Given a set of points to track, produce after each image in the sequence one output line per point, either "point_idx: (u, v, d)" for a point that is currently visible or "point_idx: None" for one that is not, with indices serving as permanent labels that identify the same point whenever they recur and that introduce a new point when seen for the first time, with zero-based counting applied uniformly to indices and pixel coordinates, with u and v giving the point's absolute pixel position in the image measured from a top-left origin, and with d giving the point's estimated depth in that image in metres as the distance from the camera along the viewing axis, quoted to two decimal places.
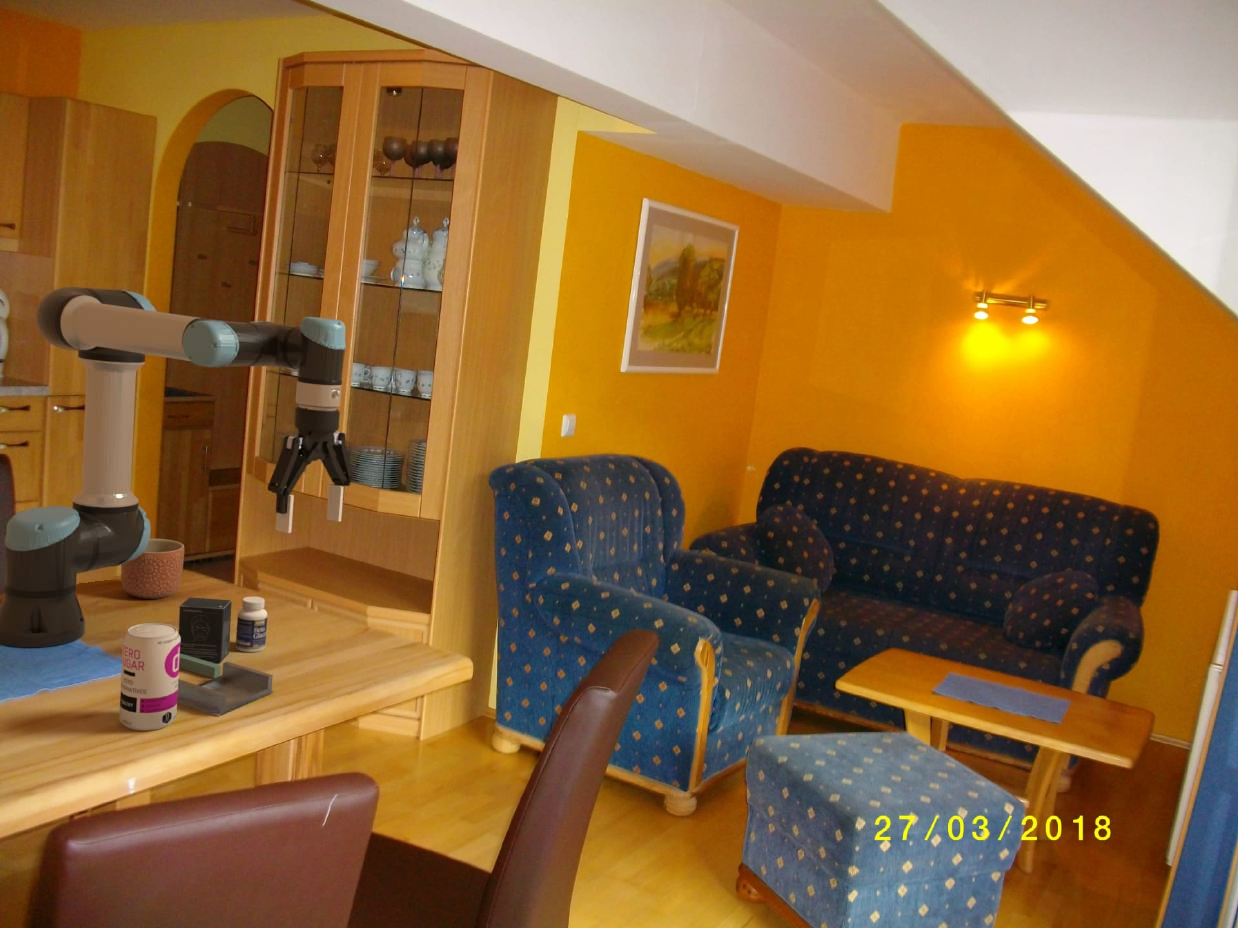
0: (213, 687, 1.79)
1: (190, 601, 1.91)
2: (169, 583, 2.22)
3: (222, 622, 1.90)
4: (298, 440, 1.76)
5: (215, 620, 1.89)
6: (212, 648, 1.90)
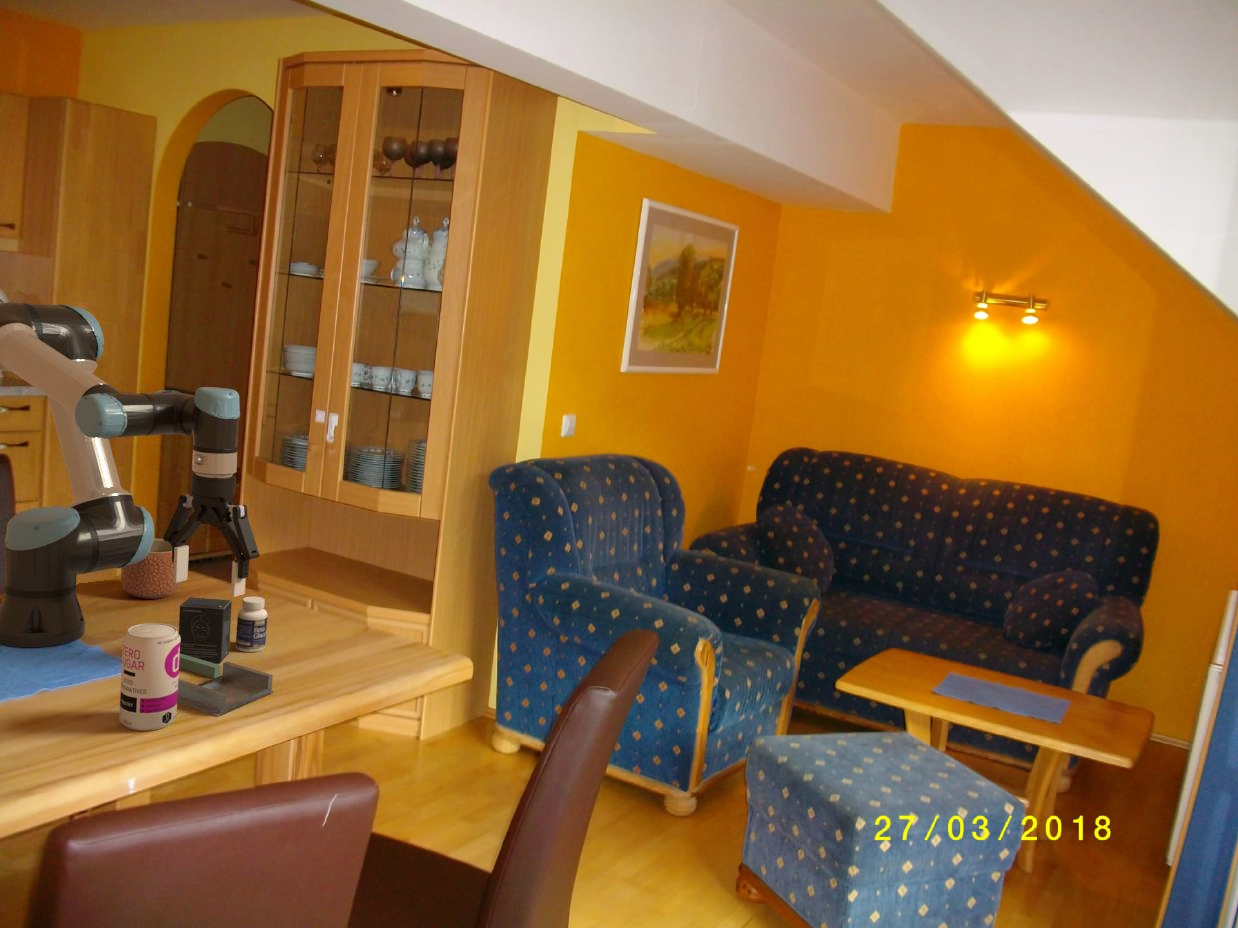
0: (213, 687, 1.79)
1: (190, 601, 1.91)
2: (169, 583, 2.22)
3: (222, 622, 1.90)
4: (181, 497, 1.90)
5: (215, 620, 1.89)
6: (212, 648, 1.90)
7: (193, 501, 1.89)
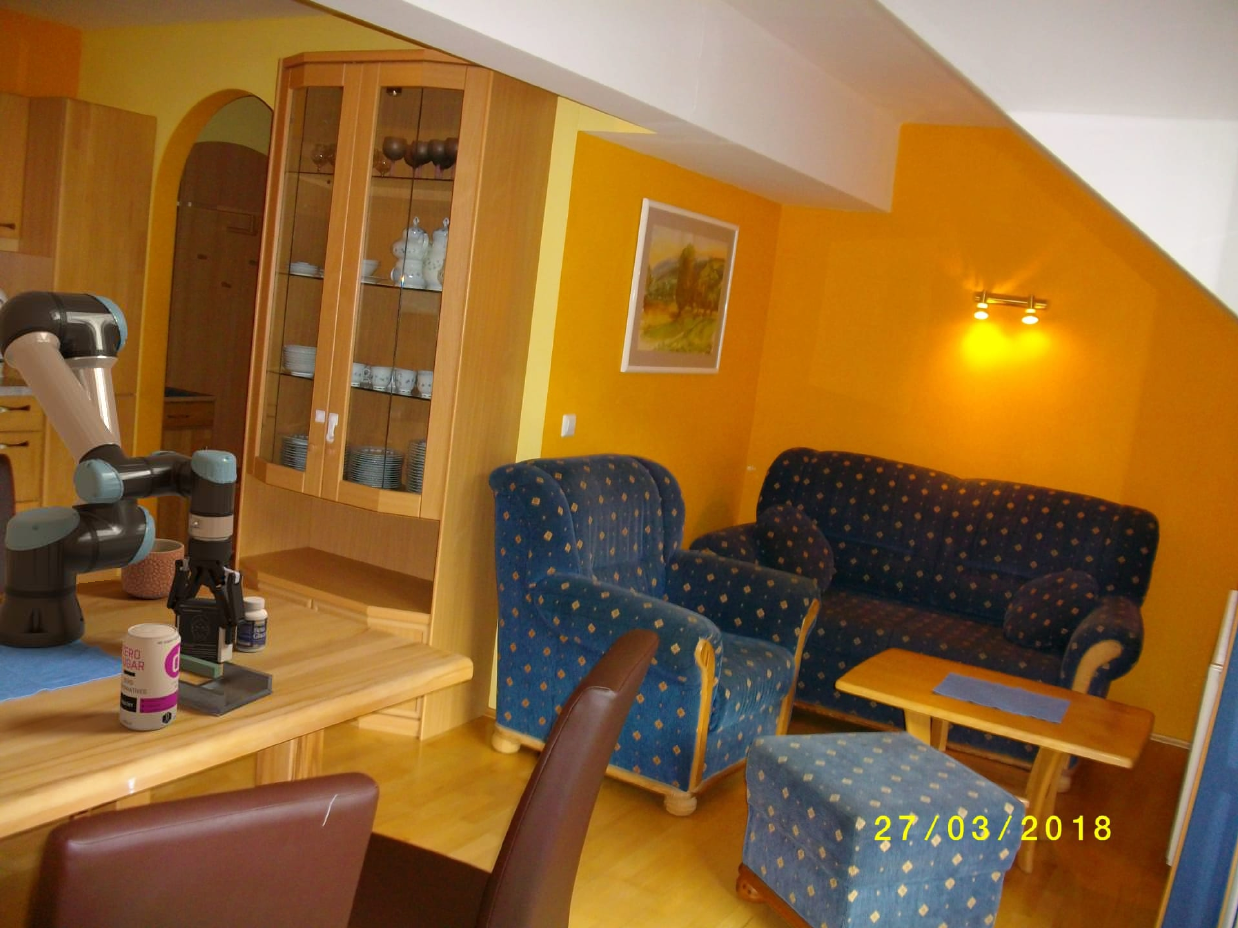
0: (213, 687, 1.79)
1: (190, 601, 1.91)
2: (169, 583, 2.22)
3: (222, 622, 1.90)
4: (177, 562, 1.92)
5: (215, 620, 1.89)
6: (212, 647, 1.90)
7: (189, 563, 1.91)
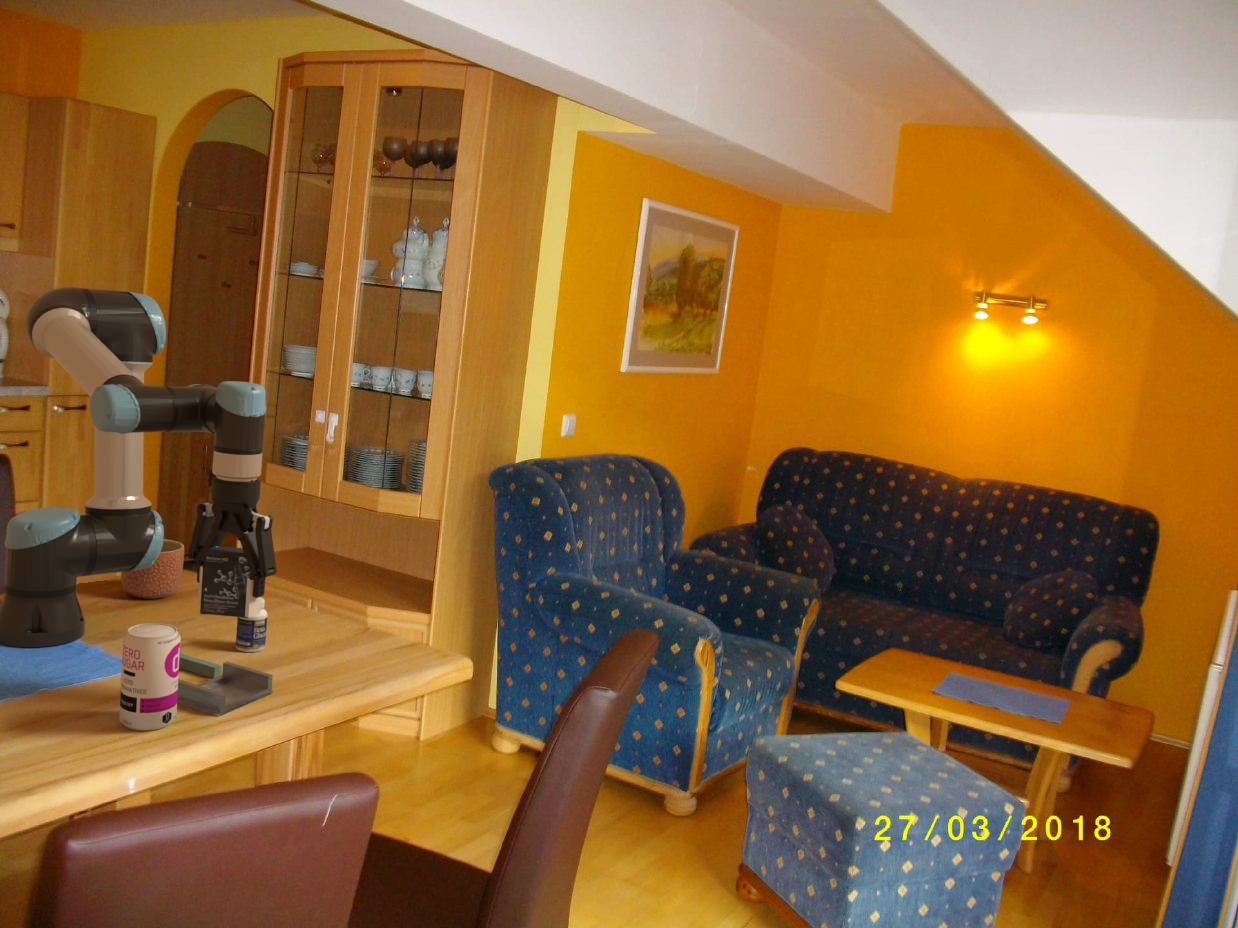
0: (213, 687, 1.79)
1: None
2: (169, 583, 2.22)
3: None
4: None
5: None
6: None
7: None
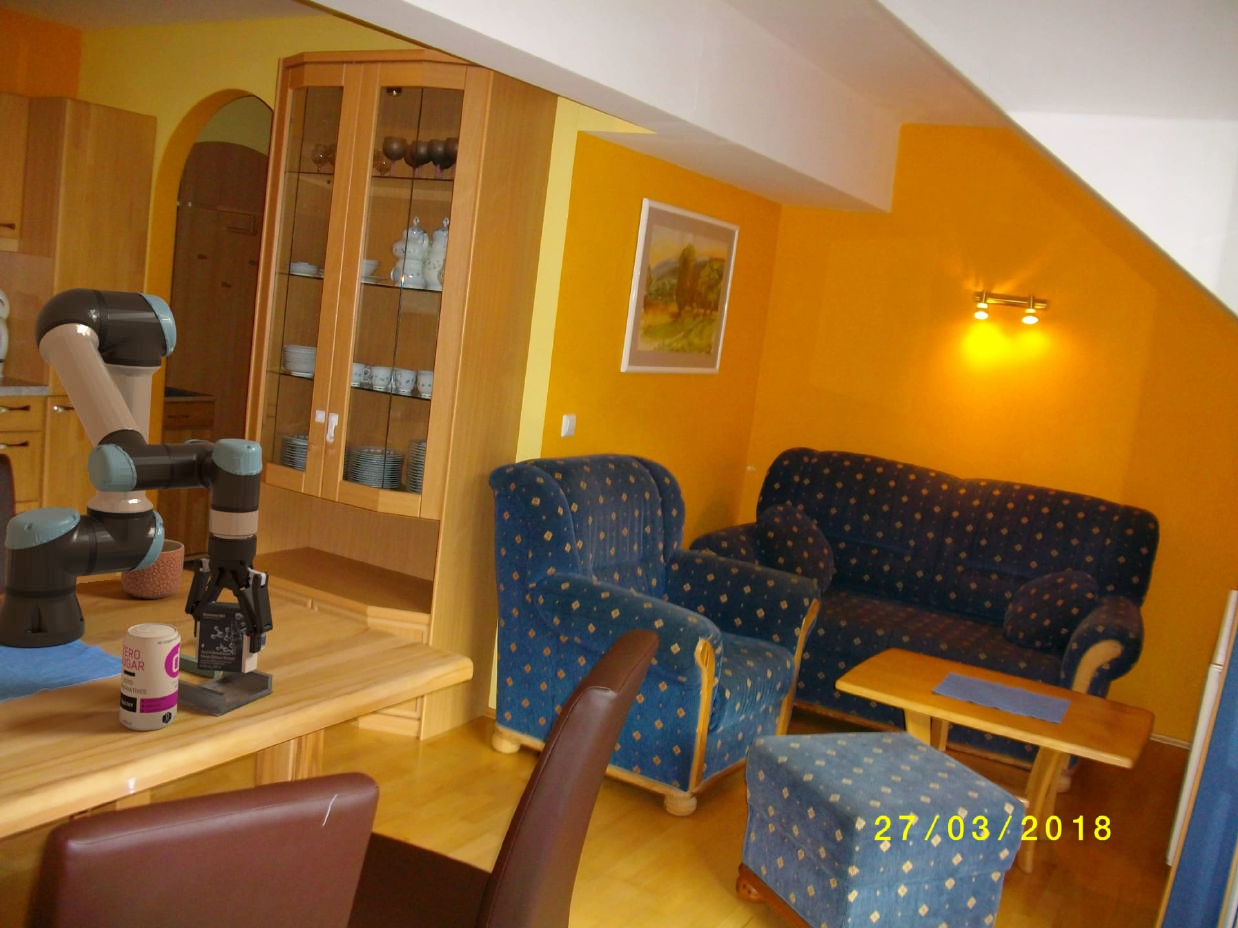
0: (213, 687, 1.79)
1: None
2: (169, 583, 2.22)
3: None
4: None
5: None
6: None
7: None
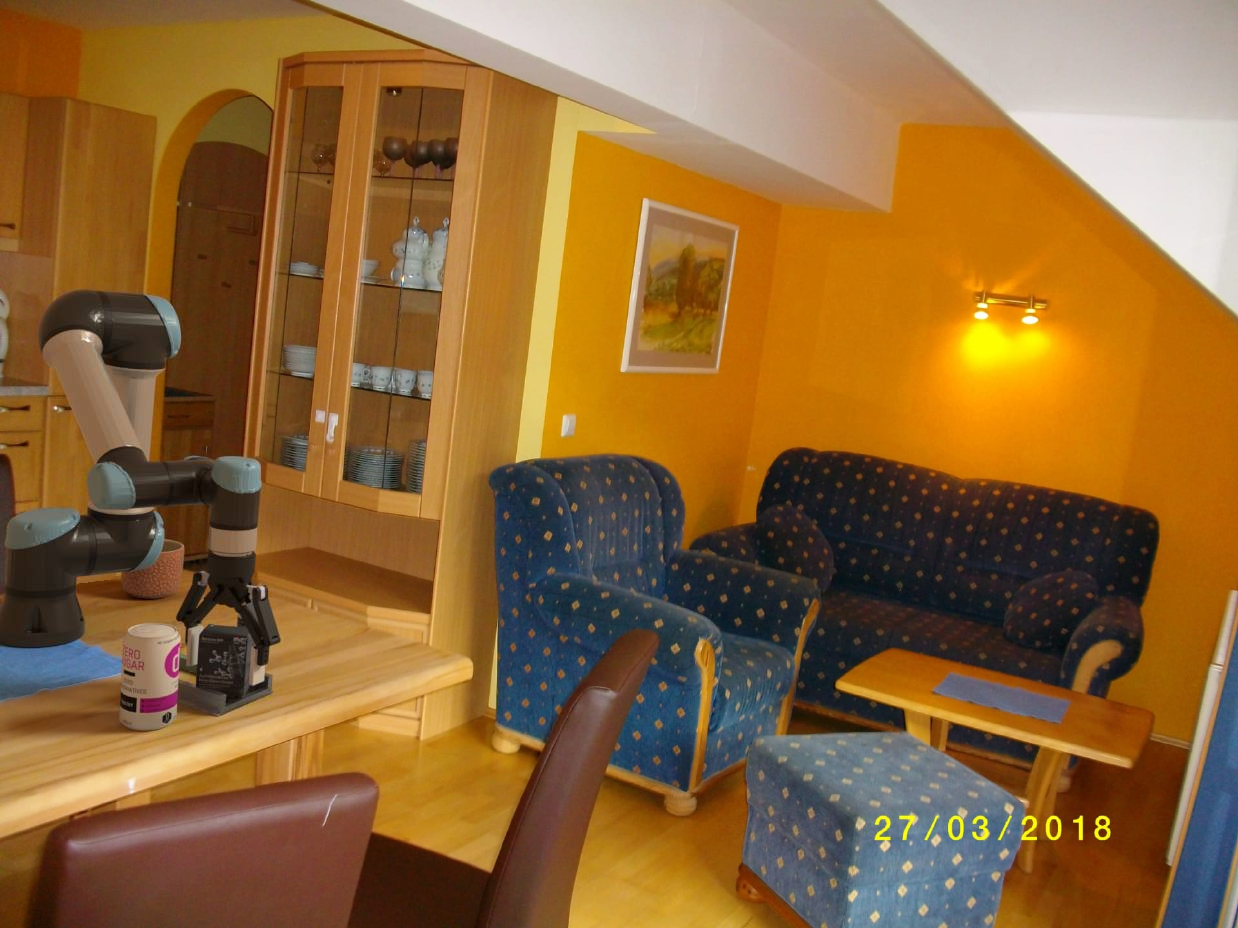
0: None
1: (244, 632, 1.75)
2: (169, 583, 2.22)
3: None
4: None
5: None
6: None
7: None
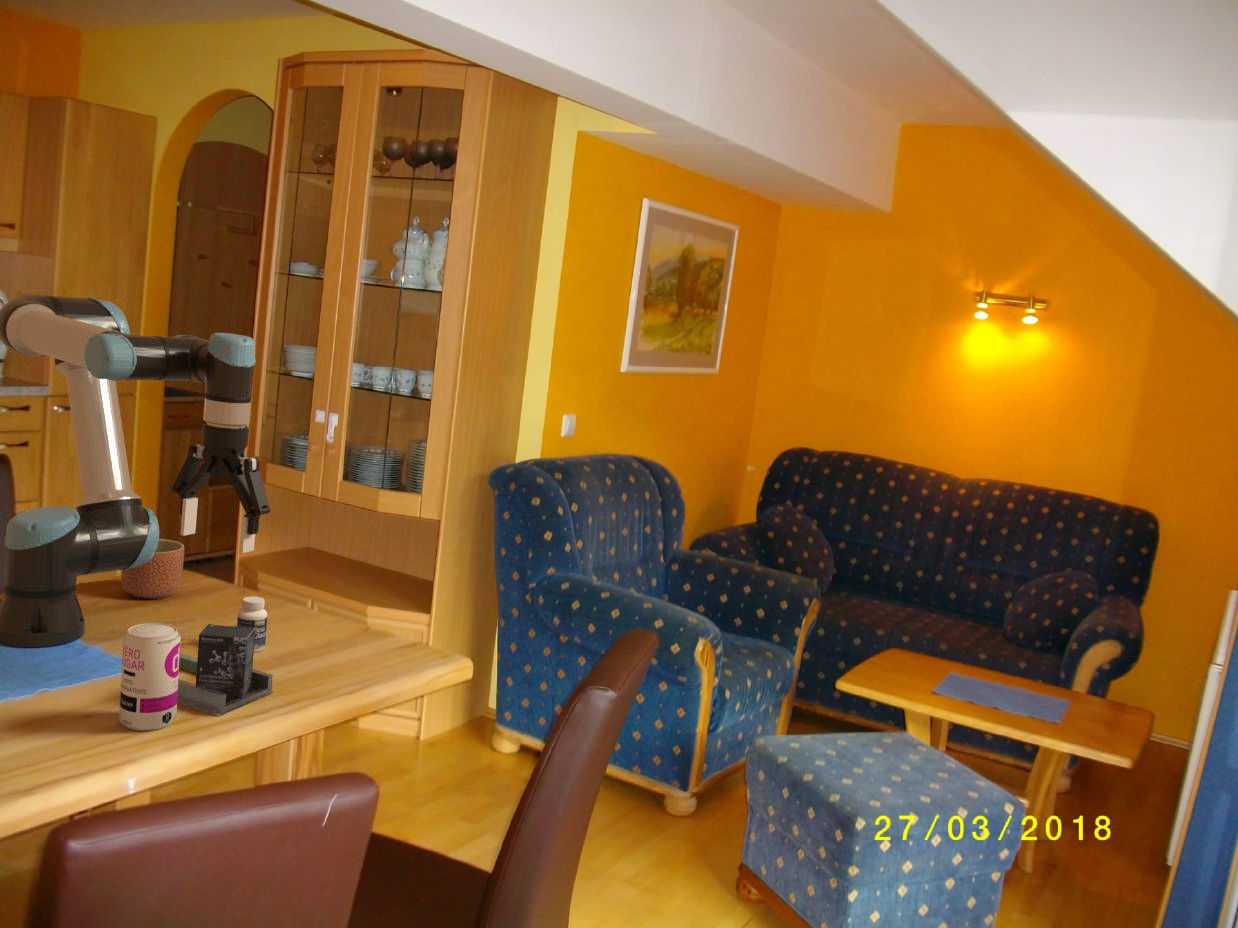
0: None
1: (244, 632, 1.75)
2: (169, 583, 2.22)
3: None
4: None
5: None
6: None
7: (243, 458, 1.80)
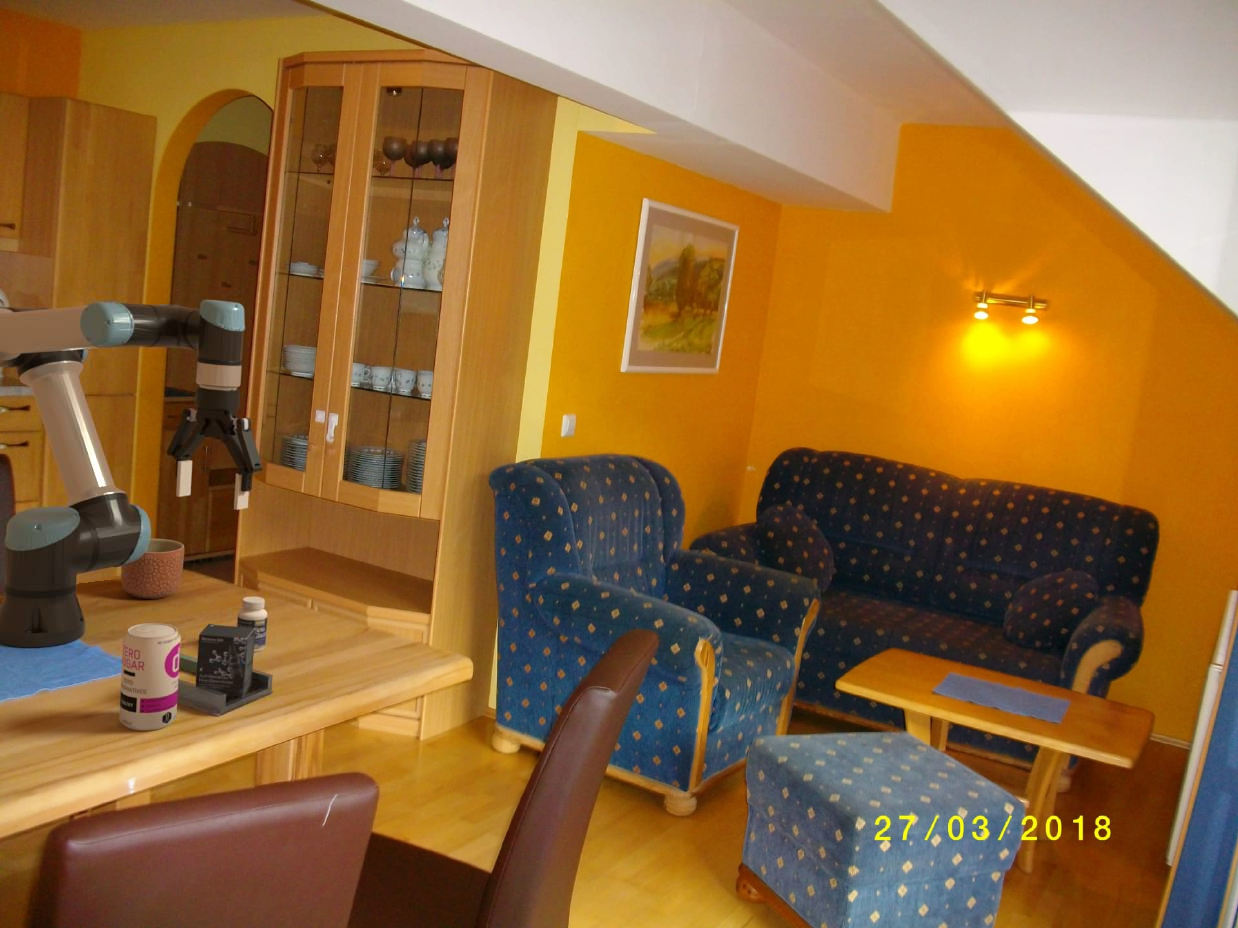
0: None
1: (244, 632, 1.75)
2: (169, 583, 2.22)
3: None
4: None
5: None
6: None
7: None
